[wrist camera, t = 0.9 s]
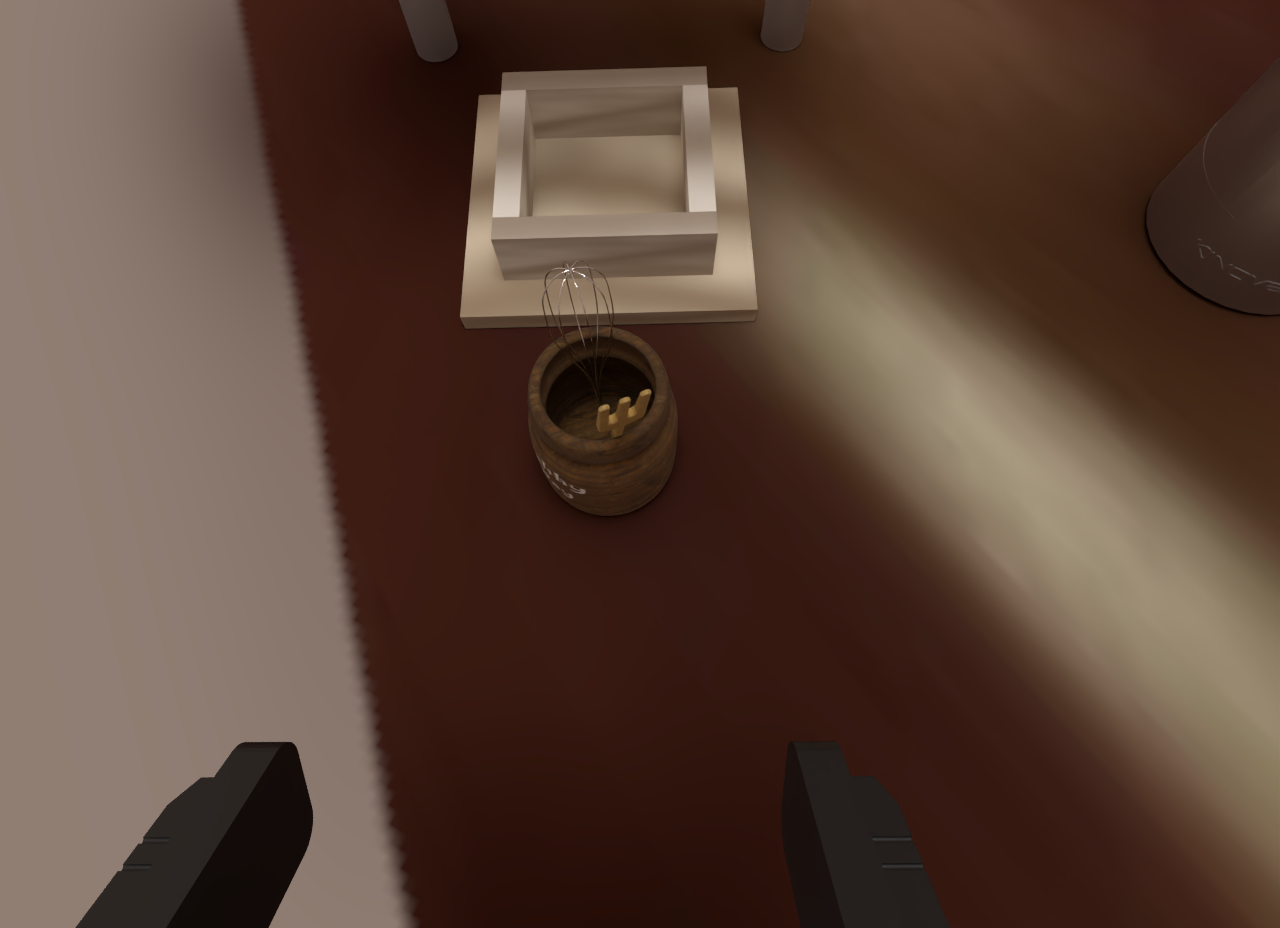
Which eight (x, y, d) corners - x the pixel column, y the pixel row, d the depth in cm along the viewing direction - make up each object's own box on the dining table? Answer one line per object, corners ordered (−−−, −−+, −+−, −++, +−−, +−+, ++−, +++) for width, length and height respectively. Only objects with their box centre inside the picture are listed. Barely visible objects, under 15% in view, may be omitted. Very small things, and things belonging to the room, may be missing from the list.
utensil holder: (645, 379, 33) (641, 196, 21) (699, 498, 30) (725, 364, 19) (526, 423, 32) (456, 258, 21) (572, 547, 30) (523, 439, 19)
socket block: (754, 321, 33) (767, 270, 30) (465, 328, 34) (441, 278, 30) (735, 102, 38) (744, 35, 35) (483, 110, 39) (464, 44, 35)
